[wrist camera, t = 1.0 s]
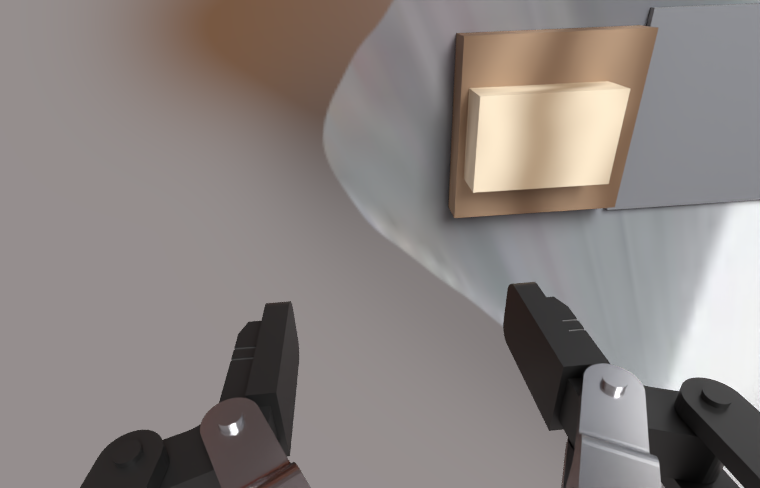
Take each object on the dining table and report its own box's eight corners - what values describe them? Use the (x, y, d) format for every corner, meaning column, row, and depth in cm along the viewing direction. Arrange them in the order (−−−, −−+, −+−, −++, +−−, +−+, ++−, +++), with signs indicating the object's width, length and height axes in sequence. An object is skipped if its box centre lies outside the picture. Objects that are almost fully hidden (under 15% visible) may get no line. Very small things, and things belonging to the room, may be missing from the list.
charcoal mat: (864, -2, 30) (870, -2, 29) (778, 196, 36) (782, 198, 36) (651, 7, 29) (654, 7, 28) (604, 207, 36) (607, 210, 35)
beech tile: (608, 81, 29) (630, 88, 27) (589, 170, 32) (608, 183, 30) (469, 88, 28) (480, 96, 26) (463, 178, 31) (473, 192, 29)
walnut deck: (639, 25, 29) (658, 27, 27) (600, 196, 35) (614, 207, 33) (456, 33, 28) (464, 36, 27) (448, 206, 34) (454, 218, 33)
